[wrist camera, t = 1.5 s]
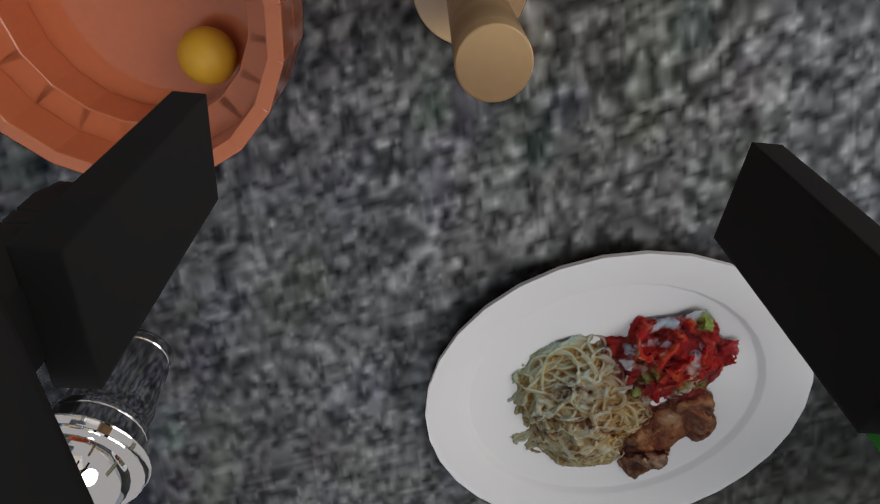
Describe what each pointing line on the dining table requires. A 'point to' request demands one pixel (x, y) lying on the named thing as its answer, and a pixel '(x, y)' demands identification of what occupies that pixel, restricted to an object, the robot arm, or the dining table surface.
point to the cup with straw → (117, 421)
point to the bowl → (133, 70)
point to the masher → (483, 44)
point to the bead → (207, 55)
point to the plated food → (616, 384)
